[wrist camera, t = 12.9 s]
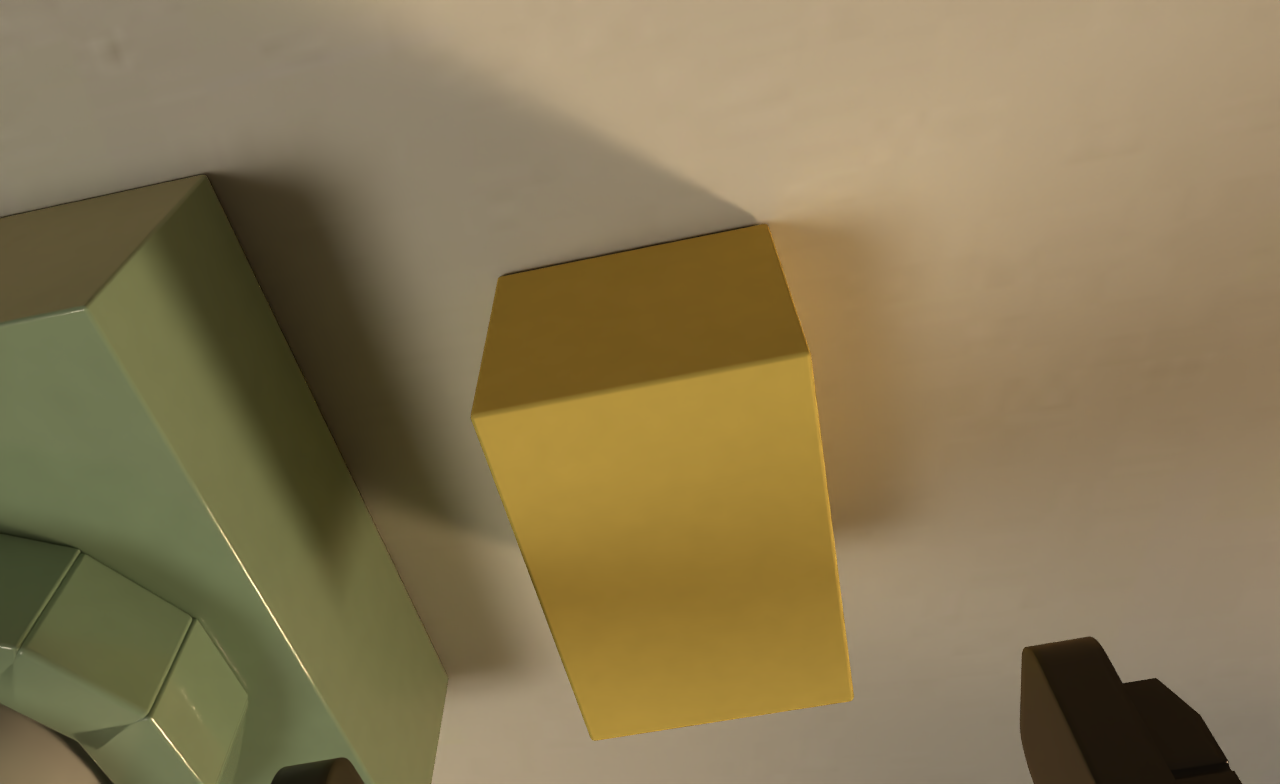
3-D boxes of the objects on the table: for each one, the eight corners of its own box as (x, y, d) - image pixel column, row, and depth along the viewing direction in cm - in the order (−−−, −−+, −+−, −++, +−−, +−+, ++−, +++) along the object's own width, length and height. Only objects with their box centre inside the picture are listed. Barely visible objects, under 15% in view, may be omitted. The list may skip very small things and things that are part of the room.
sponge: (497, 275, 16) (468, 417, 13) (767, 221, 16) (810, 352, 12) (593, 575, 20) (591, 742, 17) (812, 537, 19) (855, 702, 16)
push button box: (-318, 285, 16) (-745, 541, 11) (206, 172, 15) (7, 392, 10) (73, 739, 22) (-80, 1027, 17) (449, 677, 22) (402, 961, 17)
